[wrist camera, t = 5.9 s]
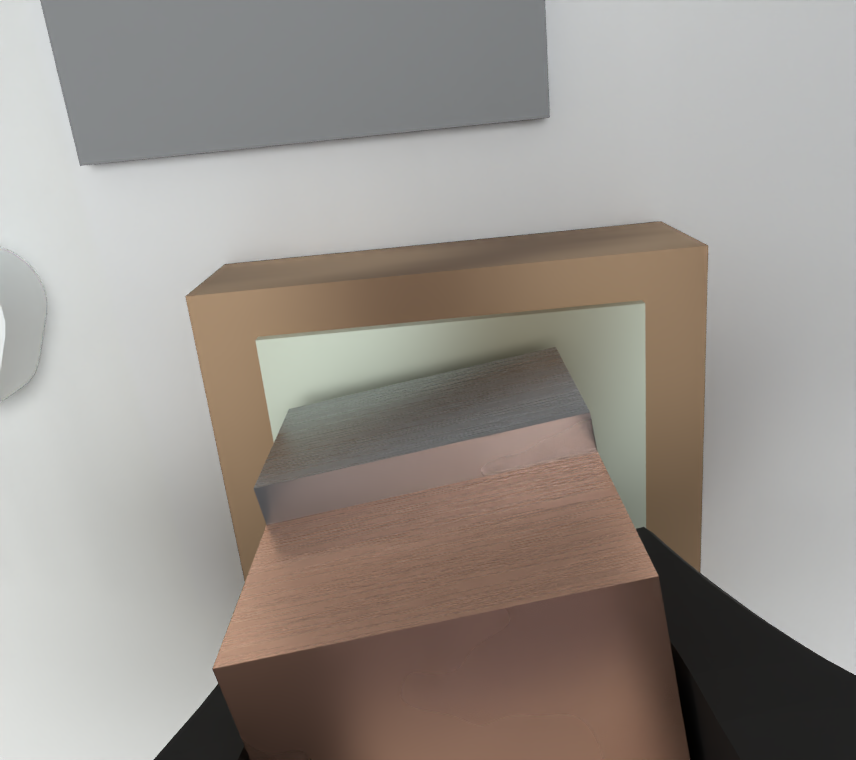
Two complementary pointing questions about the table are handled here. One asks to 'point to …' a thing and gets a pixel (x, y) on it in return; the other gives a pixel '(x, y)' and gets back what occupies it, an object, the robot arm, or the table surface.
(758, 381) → the table surface
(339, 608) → the block
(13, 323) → the mounting plate
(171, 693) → the table surface
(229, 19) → the mat
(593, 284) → the stand
